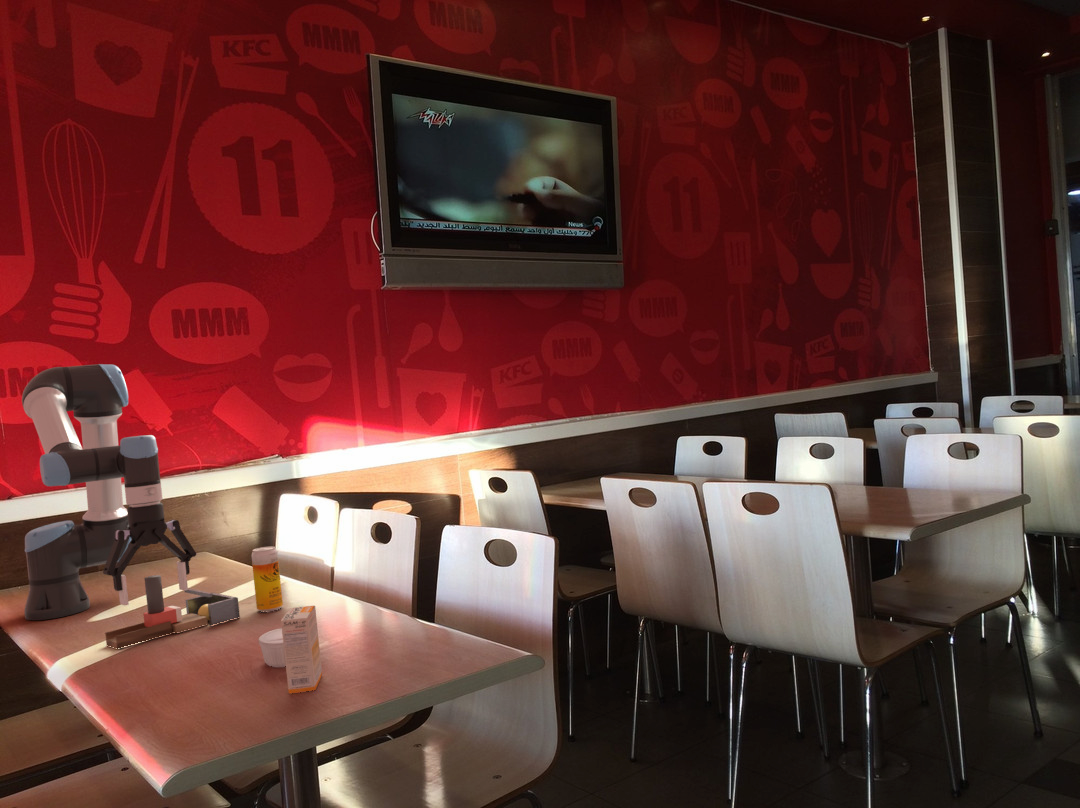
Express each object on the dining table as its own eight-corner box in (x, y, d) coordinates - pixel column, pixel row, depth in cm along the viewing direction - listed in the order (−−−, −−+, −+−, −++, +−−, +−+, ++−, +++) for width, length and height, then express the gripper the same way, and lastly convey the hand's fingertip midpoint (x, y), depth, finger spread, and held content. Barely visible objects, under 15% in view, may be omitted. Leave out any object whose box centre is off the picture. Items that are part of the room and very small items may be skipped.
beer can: (275, 612, 211) (269, 550, 210) (252, 613, 212) (246, 552, 211) (287, 605, 217) (281, 545, 216) (265, 606, 218) (258, 546, 217)
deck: (160, 629, 204) (159, 621, 204) (191, 621, 210) (190, 613, 210) (176, 634, 199) (175, 625, 199) (207, 625, 204) (206, 616, 204)
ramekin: (288, 672, 164) (285, 644, 164) (248, 666, 170) (245, 639, 170) (332, 653, 174) (329, 627, 174) (292, 648, 180) (290, 623, 179)
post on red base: (144, 626, 200) (139, 578, 200) (173, 618, 205) (168, 571, 205) (153, 628, 197) (148, 579, 197) (182, 620, 202) (177, 573, 202)
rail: (106, 646, 194) (105, 632, 194) (160, 631, 203) (158, 618, 203) (118, 649, 190) (116, 636, 190) (172, 634, 199) (170, 621, 199)
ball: (213, 606, 212) (206, 622, 210) (199, 600, 209) (192, 617, 208) (221, 608, 209) (214, 624, 208) (207, 602, 207) (200, 619, 205)
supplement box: (296, 678, 160) (288, 607, 159) (323, 675, 160) (315, 604, 160) (287, 694, 152) (279, 619, 151) (315, 691, 152) (307, 616, 152)
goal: (187, 620, 211) (184, 588, 211) (215, 612, 216) (211, 582, 216) (212, 626, 203) (208, 593, 203) (239, 618, 208) (236, 586, 208)
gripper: (94, 514, 187) (104, 613, 188) (205, 495, 206) (214, 585, 206) (80, 513, 192) (90, 609, 193) (190, 494, 211) (199, 582, 211)
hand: (154, 597), depth 200 cm, fingers open, 13 cm apart
